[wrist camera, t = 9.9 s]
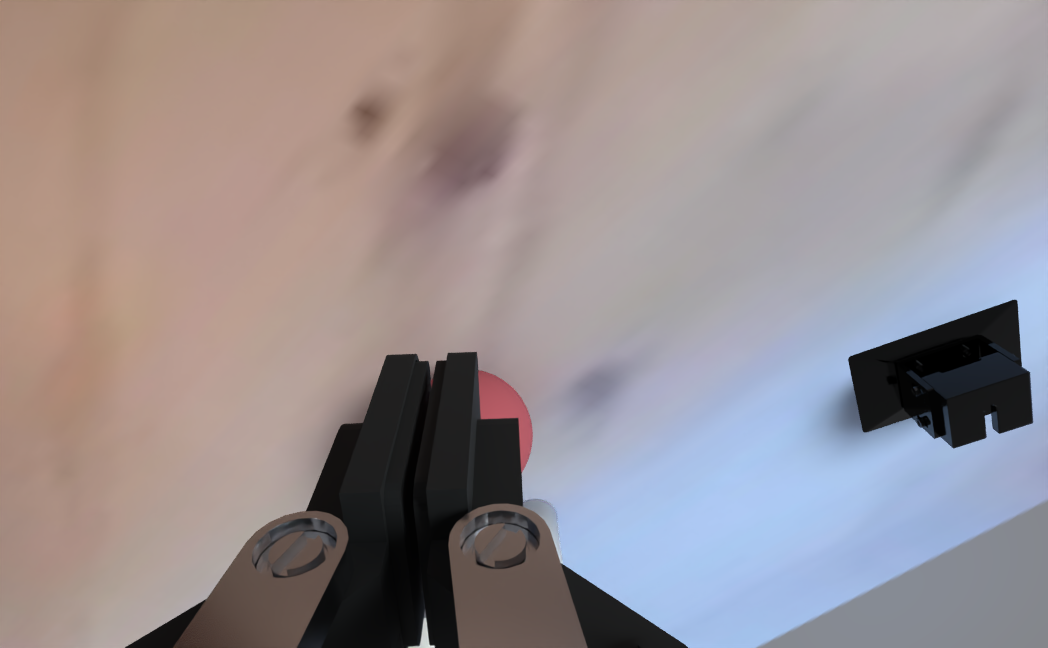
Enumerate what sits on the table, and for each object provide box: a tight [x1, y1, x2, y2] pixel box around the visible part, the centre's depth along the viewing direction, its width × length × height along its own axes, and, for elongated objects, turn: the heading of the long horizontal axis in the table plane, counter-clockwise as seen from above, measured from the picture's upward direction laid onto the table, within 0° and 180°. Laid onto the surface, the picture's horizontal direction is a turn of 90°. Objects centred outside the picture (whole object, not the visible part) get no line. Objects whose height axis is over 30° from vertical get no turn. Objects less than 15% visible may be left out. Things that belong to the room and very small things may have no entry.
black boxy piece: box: [848, 300, 1033, 448], centre depth 31 cm, size 12×7×5 cm, turn 111°
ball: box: [431, 370, 533, 473], centre depth 29 cm, size 6×6×6 cm
